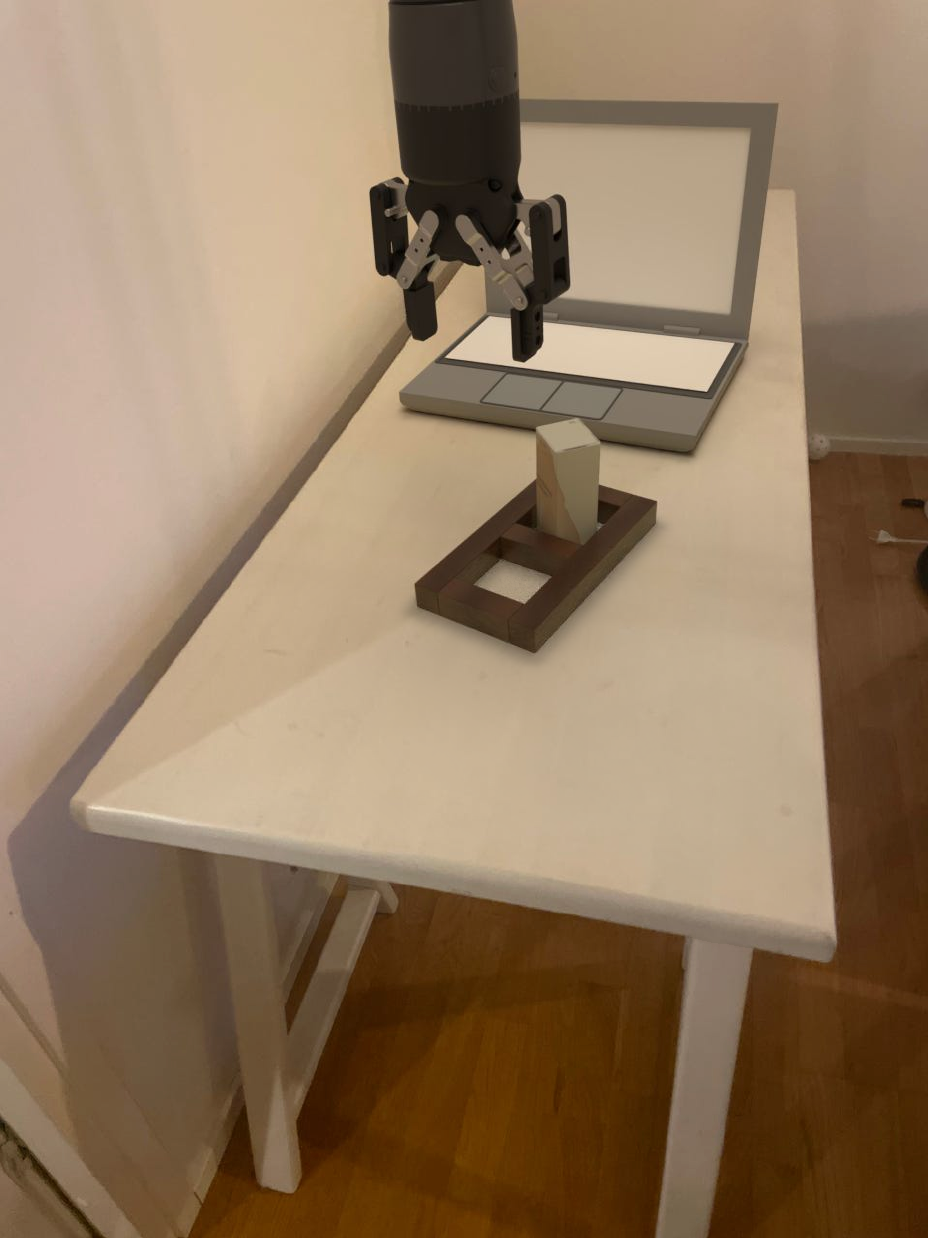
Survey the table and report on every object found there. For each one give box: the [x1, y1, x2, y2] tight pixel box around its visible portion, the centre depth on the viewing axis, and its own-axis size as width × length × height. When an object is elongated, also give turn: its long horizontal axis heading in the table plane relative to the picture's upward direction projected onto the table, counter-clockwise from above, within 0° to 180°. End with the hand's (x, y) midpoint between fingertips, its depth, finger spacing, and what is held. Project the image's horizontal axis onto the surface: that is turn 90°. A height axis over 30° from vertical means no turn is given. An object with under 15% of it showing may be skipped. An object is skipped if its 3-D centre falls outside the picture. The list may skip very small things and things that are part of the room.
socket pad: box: [413, 478, 658, 653], centre depth 85 cm, size 12×22×2 cm, turn 145°
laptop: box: [398, 98, 780, 453], centre depth 105 cm, size 35×26×28 cm
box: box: [535, 418, 601, 545], centre depth 85 cm, size 5×4×11 cm
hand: (473, 347), depth 66 cm, fingers open, 8 cm apart
